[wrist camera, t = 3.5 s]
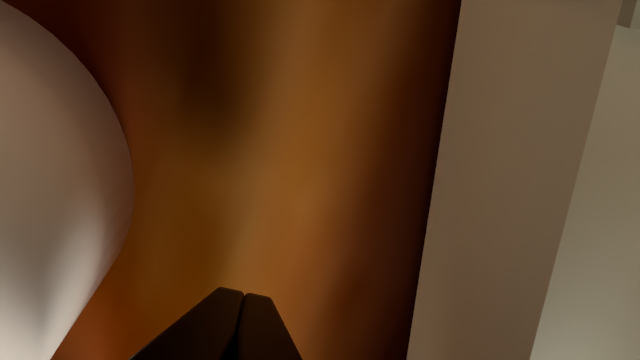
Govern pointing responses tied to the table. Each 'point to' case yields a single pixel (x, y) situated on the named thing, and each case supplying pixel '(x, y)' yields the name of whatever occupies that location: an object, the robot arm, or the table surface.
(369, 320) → the table surface
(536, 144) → the off-white flat block
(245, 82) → the table surface
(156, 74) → the table surface
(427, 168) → the table surface
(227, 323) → the robot arm
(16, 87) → the off-white rounded piece
